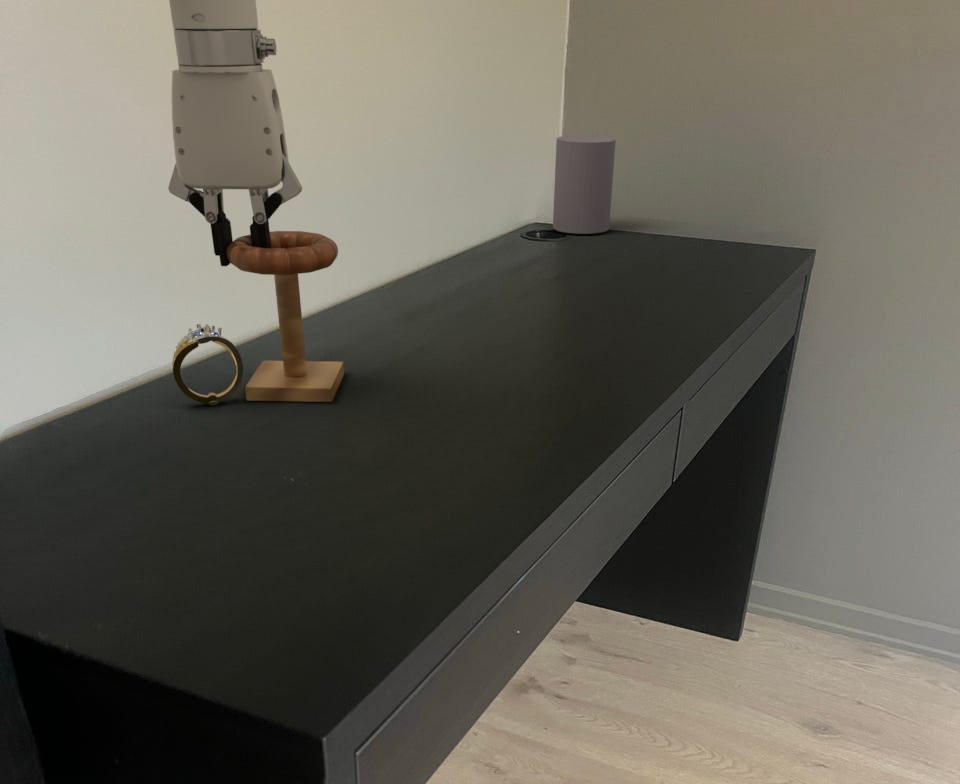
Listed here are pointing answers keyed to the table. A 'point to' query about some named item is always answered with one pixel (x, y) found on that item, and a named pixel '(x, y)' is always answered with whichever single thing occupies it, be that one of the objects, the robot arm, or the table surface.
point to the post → (293, 358)
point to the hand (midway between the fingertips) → (244, 261)
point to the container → (583, 184)
